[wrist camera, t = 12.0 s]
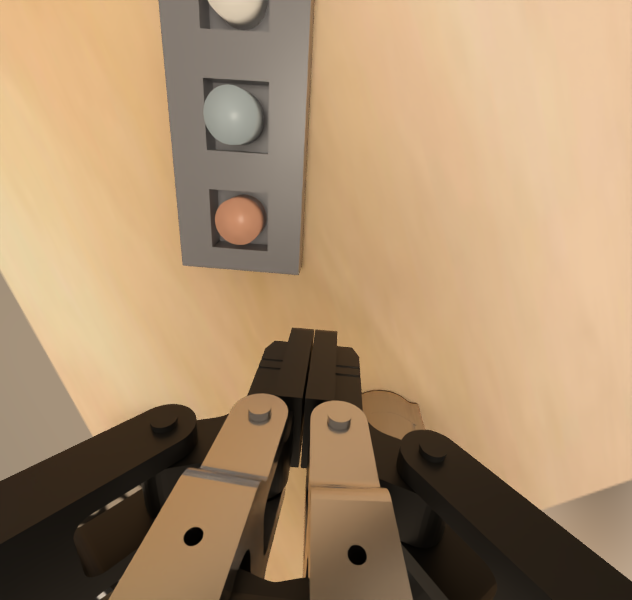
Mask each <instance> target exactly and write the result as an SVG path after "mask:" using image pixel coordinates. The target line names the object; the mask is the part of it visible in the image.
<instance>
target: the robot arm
mask: <svg viewBox="0 0 632 600" xmlns="http://www.w3.org/2000/svg"><path fill="white" fill-rule="evenodd" d="M313 338H314V343H313ZM302 438H303V441H302ZM301 445H302V457H301V468H307V475H306V489H305V511H304V548H303V578H299V579H293V580H287V581H282V582H270V581H267V580H265V579H264V577H265V571H266V566H267V562H268V558H269V554H270V550H271V546H272V542H273V538H274V534H275V530H276V527H277V523H278V519H279V515H280V511H281V507H282V503H283V499H284V495H285V486H286V484H287V481H288V476H289V470H290V467H299V460H300V452H301ZM140 484H141V486H142V489H140V490H139V491H137V492H135V493H134V494H132V495H131V496H129V497H127V498H126V499H124V500H123V501H121V502H119V503H118V504H116V505H115V506H113V507H111V508H110V509H108V510H106V511H105V512H103V513H102V514H100V515H98V516H97V517H95V518H94V519H92V520H90V521H89V522H87V523H86V524H84V525H82V526H80V527H78V526H79V525H80V524H81V522H82V521H83V520H84V519H86V518H87V517H88V516H90V515H91V514H93V513H94V512H96V511H98V510H99V509H101V508H102V507H104V506H106V505H107V504H109V503H111V502H112V501H114V500H116V499H117V498H119V497H120V496H122V495H124V494H125V493H127V492H129V491H130V490H132V489H134V488H135V487H137V486H138V485H140ZM77 527H78V528H77ZM119 579H120V581H119V583H118V584H117V586H116V588H115V589H114V591H112V592H110V593H109V594H107V595H106V596H104V597H103V598H101V599H100V600H632V581H630V580H629V579H628V578H627V577H625V576H624V575H623V574H621V573H620V572H619V571H618V570H616V569H615V568H614V567H612V566H611V565H610V564H609V563H607V562H606V561H605V560H604V559H602V558H601V557H600V556H598V555H597V554H596V553H595V552H593V551H592V550H591V549H590V548H588V547H587V546H586V545H584V544H583V543H582V542H581V541H579V540H578V539H577V538H575V537H574V536H573V535H572V534H570V533H569V532H568V531H567V530H565V529H564V528H563V527H561V526H560V525H559V524H558V523H556V522H555V521H554V520H553V519H551V518H550V517H549V516H547V515H546V514H545V513H544V512H542V511H541V510H540V509H538V508H537V507H536V506H535V505H533V504H532V503H531V502H530V501H528V500H527V499H526V498H524V497H523V496H522V495H521V494H519V493H518V492H517V491H515V490H514V489H513V488H512V487H510V486H509V485H508V484H507V483H505V482H504V481H503V480H501V479H500V478H499V477H498V476H496V475H495V474H494V473H493V472H491V471H490V470H489V469H487V468H486V467H485V466H484V465H482V464H481V463H480V462H478V461H477V460H476V459H475V458H473V457H472V456H471V455H470V454H468V453H467V452H466V451H464V450H463V449H462V448H461V447H459V446H458V445H457V444H455V443H454V442H453V441H452V440H450V439H449V438H447V437H446V436H444V435H442V434H440V433H437V432H434V431H430V430H425V428H424V424H423V421H422V417H421V414H420V410H419V407H418V404H412V403H409V402H408V401H406V400H405V399H404V398H402V397H401V396H399V395H397V394H395V393H391V392H387V391H371V392H367V393H364V394H362V392H361V378H360V364H359V356H358V355H357V354H356V352H355V351H354V350H353V348H350V347H339V346H337V331H326V330H315V337H314V329H302V328H292V330H291V333H290V337H289V340H288V342H283V341H274V342H273V343H272V344H270V345H269V346H268V347H267V348H265V351H264V354H263V356H262V360H261V361H260V364H259V368H258V369H257V372H256V374H255V377H254V380H253V382H252V385H251V388H250V390H249V393H248V395H247V396H246V397H244V398H242V399H240V400H239V401H237V402H236V403H235V405H234V406H233V407H232V409H231V411H230V413H229V414H227V415H225V416H221V417H216V418H210V419H203V420H196V415H195V413H194V412H193V411H192V410H191V409H190V408H188V407H186V406H183V405H178V404H168V405H162V406H158V407H155V408H153V409H150V410H148V411H146V412H144V413H142V414H140V415H138V416H136V417H134V418H132V419H130V420H127V421H125V422H123V423H121V424H119V425H117V426H115V427H113V428H111V429H109V430H107V431H104V432H102V433H100V434H98V435H96V436H94V437H92V438H90V439H88V440H86V441H84V442H81V443H79V444H77V445H75V446H73V447H71V448H69V449H67V450H65V451H63V452H61V453H58V454H56V455H54V456H52V457H50V458H48V459H46V460H44V461H42V462H40V463H38V464H36V465H33V466H31V467H29V468H27V469H25V470H23V471H21V472H19V473H17V474H15V475H12V476H10V477H8V478H6V479H4V480H2V481H0V600H93V599H95V598H96V597H97V596H99V595H100V594H101V593H102V592H104V591H105V590H106V589H108V588H109V587H110V586H112V585H113V584H114V583H116V582H117V581H118V580H119Z"/></svg>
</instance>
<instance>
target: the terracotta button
mask: <svg viewBox="0 0 632 600" xmlns="http://www.w3.org/2000/svg"><path fill="white" fill-rule="evenodd" d="M266 220H267V215H266V211H265V208H264V206H263V205H262V203H261V202H260V201H259V200H258V199H256V198H255V197H253V196H250V195H245V194H242V195H237V196H235V197H233V198H231V199H229V200H227V201H225V202H223V203H222V204H221V205H220V206H219V207H218V209H217V211H216V214H215V224H216V228H217V230H218V232H219V234H220V235H221V236H222V237H223V238H224V239H225V240H226V241H228V242H230V243H232V244H236V245H244V244H248V243H250V242H251V241H253V240H254V239H255V238H256V237H257V236H258V235H259V234H260V233H261V232H262V230H263V229H264V227H265V225H266Z"/></svg>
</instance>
